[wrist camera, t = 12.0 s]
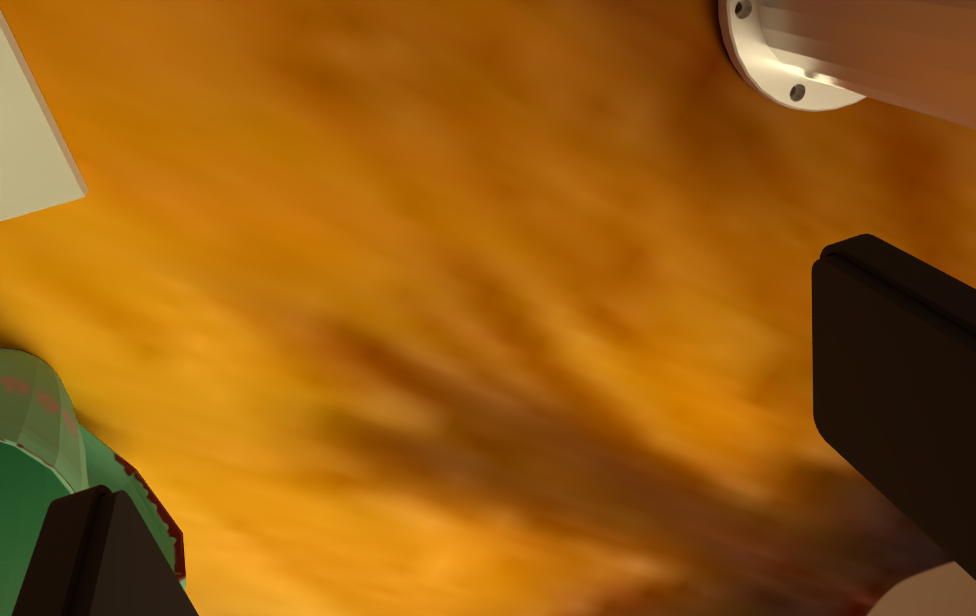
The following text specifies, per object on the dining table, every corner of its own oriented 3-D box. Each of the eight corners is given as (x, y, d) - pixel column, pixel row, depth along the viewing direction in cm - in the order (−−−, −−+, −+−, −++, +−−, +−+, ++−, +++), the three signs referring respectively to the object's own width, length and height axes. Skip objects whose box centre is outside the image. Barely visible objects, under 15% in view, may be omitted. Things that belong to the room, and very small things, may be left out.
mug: (-167, 418, 36) (-297, 581, 27) (-40, 255, 34) (-135, 373, 25) (132, 548, 43) (105, 711, 34) (248, 418, 41) (250, 554, 32)
